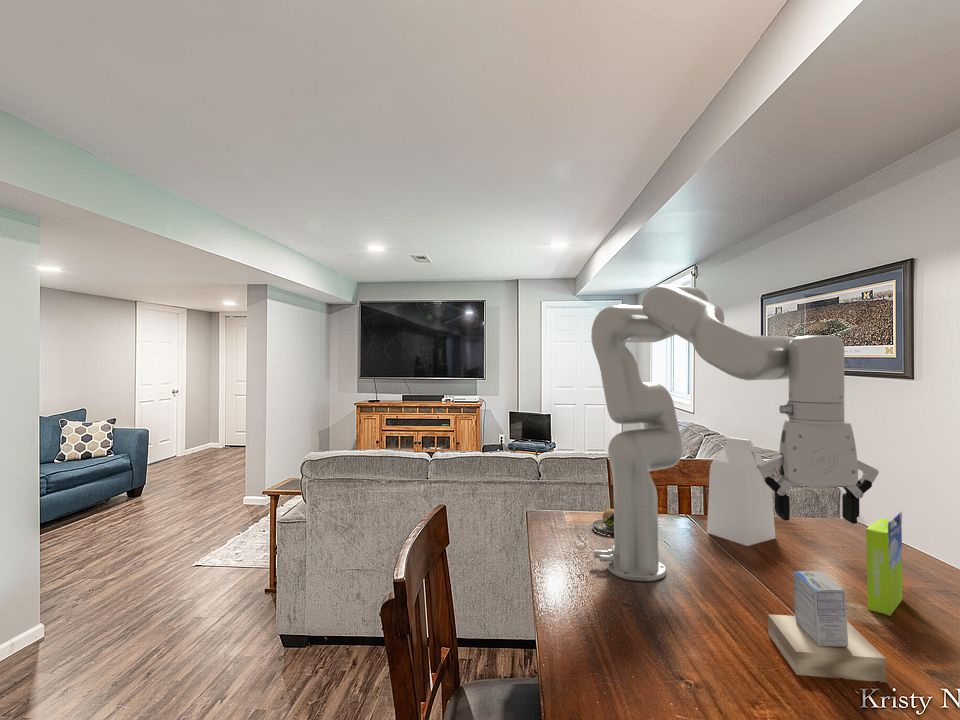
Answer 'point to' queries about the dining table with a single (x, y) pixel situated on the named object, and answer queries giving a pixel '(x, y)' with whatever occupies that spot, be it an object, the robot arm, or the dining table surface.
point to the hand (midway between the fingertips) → (816, 519)
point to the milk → (739, 496)
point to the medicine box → (820, 608)
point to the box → (884, 565)
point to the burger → (605, 523)
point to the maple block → (826, 653)
